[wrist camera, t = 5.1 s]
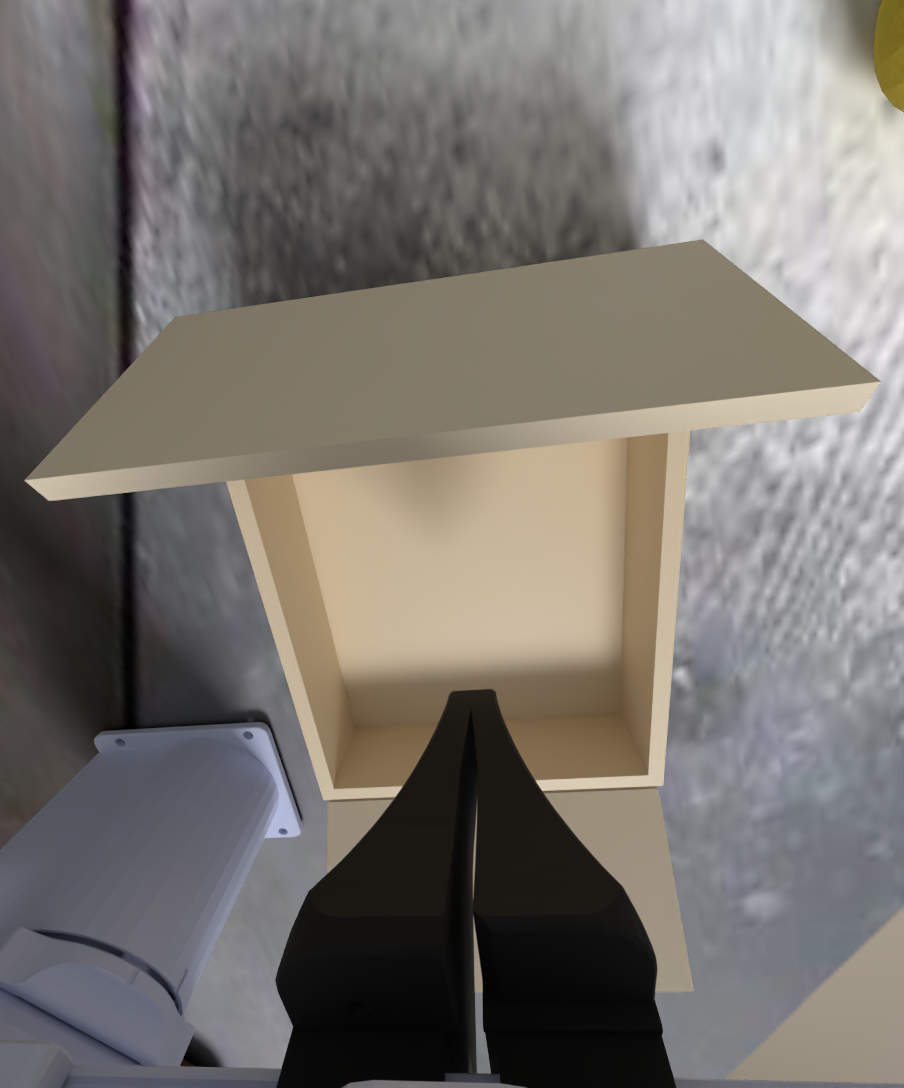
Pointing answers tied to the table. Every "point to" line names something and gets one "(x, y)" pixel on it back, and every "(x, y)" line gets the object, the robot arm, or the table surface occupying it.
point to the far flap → (611, 837)
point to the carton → (477, 605)
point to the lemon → (890, 51)
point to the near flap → (455, 373)
